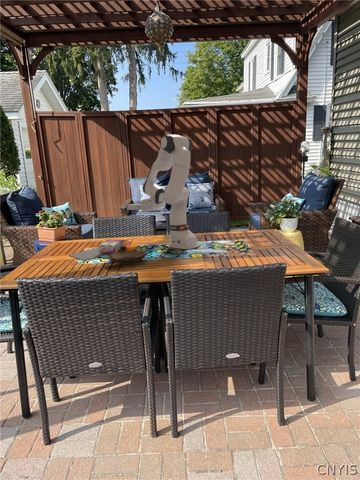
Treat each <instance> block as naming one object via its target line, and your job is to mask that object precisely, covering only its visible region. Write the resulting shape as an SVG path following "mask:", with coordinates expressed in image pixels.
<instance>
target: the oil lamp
mask: <svg viewBox="0 0 360 480" xmlns="http://www.w3.org/2000/svg"><path fill="white" fill-rule="evenodd" d="M147 253H148V252H146V251H139V250H127V246H126V245H125V243H124V244H123V243H121V247H120V251H119V252H118V251H117V253H113V254H109V257H107V260H108V261H111V262H114V263H117V264H131V263H136V262H138V261H139V260H142V259H143V258H145V257H146V256H147Z"/></svg>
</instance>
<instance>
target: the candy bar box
mask: <svg viewBox="0 0 360 480" xmlns="http://www.w3.org/2000/svg"><path fill="white" fill-rule="evenodd" d="M121 243H123V244H124V245H125V240H124V239H108V240H106V241H104V242H102V243H101V244H100V243H99V245H98V249H99V252H101V253H102V252H104V253H115V252H117V253H118V251H121V249H120V247H121Z"/></svg>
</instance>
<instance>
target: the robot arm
mask: <svg viewBox="0 0 360 480" xmlns="http://www.w3.org/2000/svg"><path fill="white" fill-rule="evenodd" d="M193 145H194V144H193V140H192V139H191V138H190V137H188V136H183V135H179V134H168V133H167V134H164V135H163V136H162V137H161V140H160V148H159V151H158V154H157V158H156V159H155V161H154V162H153V163H152V164H151V166H150V168H149V172H148V174H147V177H146V179H145V181H144V183H143V185H142V192H143V193H144V194H145V195H147V196H149V197H148V198H145V199H142V200H140V203H137V202H136V203H130V204H127V210H129V211H142V212H143V213H148V212H151V211H157V210H160V209H162V208H163V209H164V208H165V206H166V204H168V205H170V206H171V207H170V210H169V231H170V232H169V239H168V241H169V243H168V248H174V249H181V250H190V249H196V248H198V247H201V245H202V243H199V242H198V240H197V237H196V235H195V234H194V233H193V232H192V231H191V230H190V229H189V228H190V225H188V223H187V207H188V200H189V197H190V190H189V189H188V188H187V187H186V183H187V181H188V179H189V173H190V169H191V168H190V167H191V151H192V150H193V147H194V146H193ZM170 169H171V173H170V178H169V181H168V183H167V187H166V188H165V189H163V187H161V186H159V185H158V184H157V183H155V180H156V178H157V176H158V173H159V172H160V171H161V172H163V171H169V170H170Z"/></svg>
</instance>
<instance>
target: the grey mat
mask: <svg viewBox="0 0 360 480" xmlns="http://www.w3.org/2000/svg"><path fill="white" fill-rule="evenodd" d="M115 253H118V251H117V252H115ZM108 254H109V255H110V254H113V253H104V252H102V253H101V252H99V247H98V248H92V249H89V250H83V251H80V252H76V253H72V254H68V256H69V257H72V258H75V259H78V260H80V261H88V260H93V259H96V257H97V258H100V256H101V257H103V255H105V256H108Z"/></svg>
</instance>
